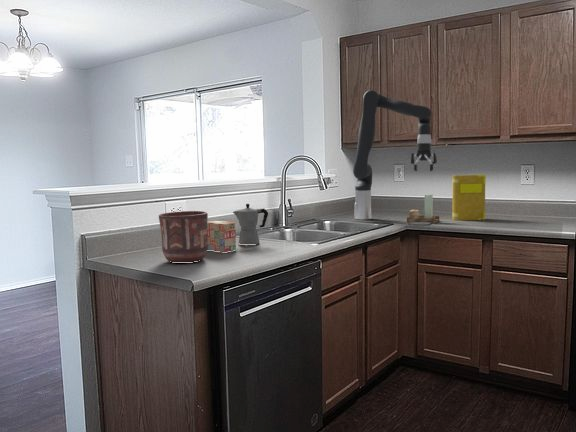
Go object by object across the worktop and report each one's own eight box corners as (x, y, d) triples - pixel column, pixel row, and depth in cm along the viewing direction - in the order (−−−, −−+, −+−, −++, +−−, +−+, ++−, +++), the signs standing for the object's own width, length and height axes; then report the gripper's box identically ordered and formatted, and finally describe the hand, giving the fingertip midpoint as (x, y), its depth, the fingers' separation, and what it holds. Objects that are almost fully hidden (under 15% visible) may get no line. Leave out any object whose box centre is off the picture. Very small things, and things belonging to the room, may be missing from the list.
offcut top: (409, 215, 286) (409, 211, 285) (412, 214, 293) (412, 209, 293) (416, 215, 284) (416, 211, 284) (419, 214, 292) (419, 209, 291)
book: (481, 218, 294) (482, 174, 291) (485, 219, 287) (485, 174, 284) (451, 219, 295) (451, 175, 293) (453, 220, 289) (454, 175, 286)
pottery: (203, 254, 204) (200, 209, 202) (215, 262, 188) (212, 213, 186) (158, 260, 197) (154, 213, 195) (166, 268, 181) (162, 217, 179)
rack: (406, 222, 285) (406, 217, 285) (412, 220, 295) (412, 215, 295) (434, 223, 278) (434, 218, 277) (439, 220, 288) (439, 215, 288)
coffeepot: (233, 246, 222) (231, 205, 220) (234, 243, 231) (233, 203, 229) (269, 245, 222) (267, 203, 220) (269, 242, 232) (267, 202, 230)
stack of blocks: (191, 249, 219) (190, 220, 218) (203, 247, 224) (202, 219, 223) (225, 254, 205) (223, 223, 204) (236, 251, 210) (235, 221, 208)
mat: (408, 224, 275) (408, 223, 275) (412, 223, 282) (412, 222, 282) (427, 225, 271) (427, 224, 271) (431, 223, 278) (431, 222, 278)
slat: (424, 220, 284) (424, 194, 283) (426, 219, 288) (426, 194, 286) (430, 220, 282) (430, 194, 281) (432, 219, 286) (432, 194, 284)
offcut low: (408, 220, 286) (408, 215, 286) (412, 218, 294) (412, 214, 294) (415, 220, 284) (415, 215, 284) (419, 218, 292) (419, 214, 292)
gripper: (409, 143, 295) (409, 171, 296) (435, 142, 288) (434, 171, 289) (413, 143, 301) (413, 171, 303) (438, 142, 294) (437, 171, 296)
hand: (423, 171), depth 296 cm, fingers open, 8 cm apart
